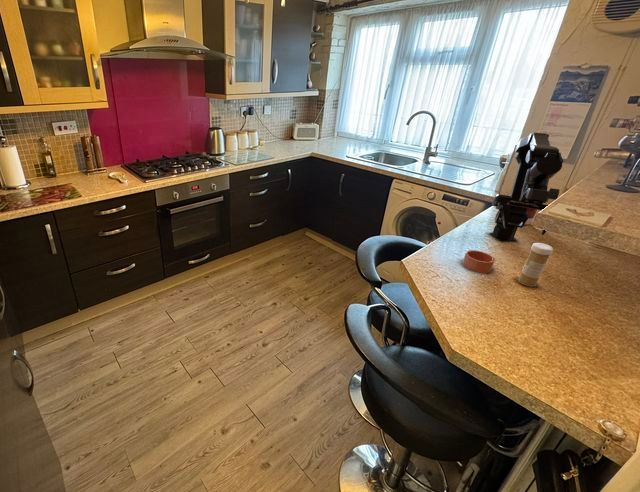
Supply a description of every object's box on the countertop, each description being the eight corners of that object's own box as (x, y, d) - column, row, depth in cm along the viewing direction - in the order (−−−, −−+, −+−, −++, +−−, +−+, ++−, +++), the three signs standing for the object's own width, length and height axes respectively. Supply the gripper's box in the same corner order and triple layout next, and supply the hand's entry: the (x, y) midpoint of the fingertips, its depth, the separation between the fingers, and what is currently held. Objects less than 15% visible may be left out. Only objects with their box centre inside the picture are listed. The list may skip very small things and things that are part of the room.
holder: (479, 259, 113) (483, 249, 112) (496, 272, 106) (500, 262, 104) (457, 260, 113) (460, 250, 112) (473, 273, 106) (476, 262, 104)
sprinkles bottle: (519, 277, 104) (535, 240, 98) (537, 283, 101) (554, 246, 95) (515, 282, 101) (531, 245, 95) (534, 289, 98) (551, 251, 92)
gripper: (505, 171, 100) (492, 219, 99) (587, 182, 90) (574, 234, 89) (497, 182, 109) (485, 226, 108) (570, 193, 100) (559, 240, 99)
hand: (523, 231), depth 101 cm, fingers open, 9 cm apart
